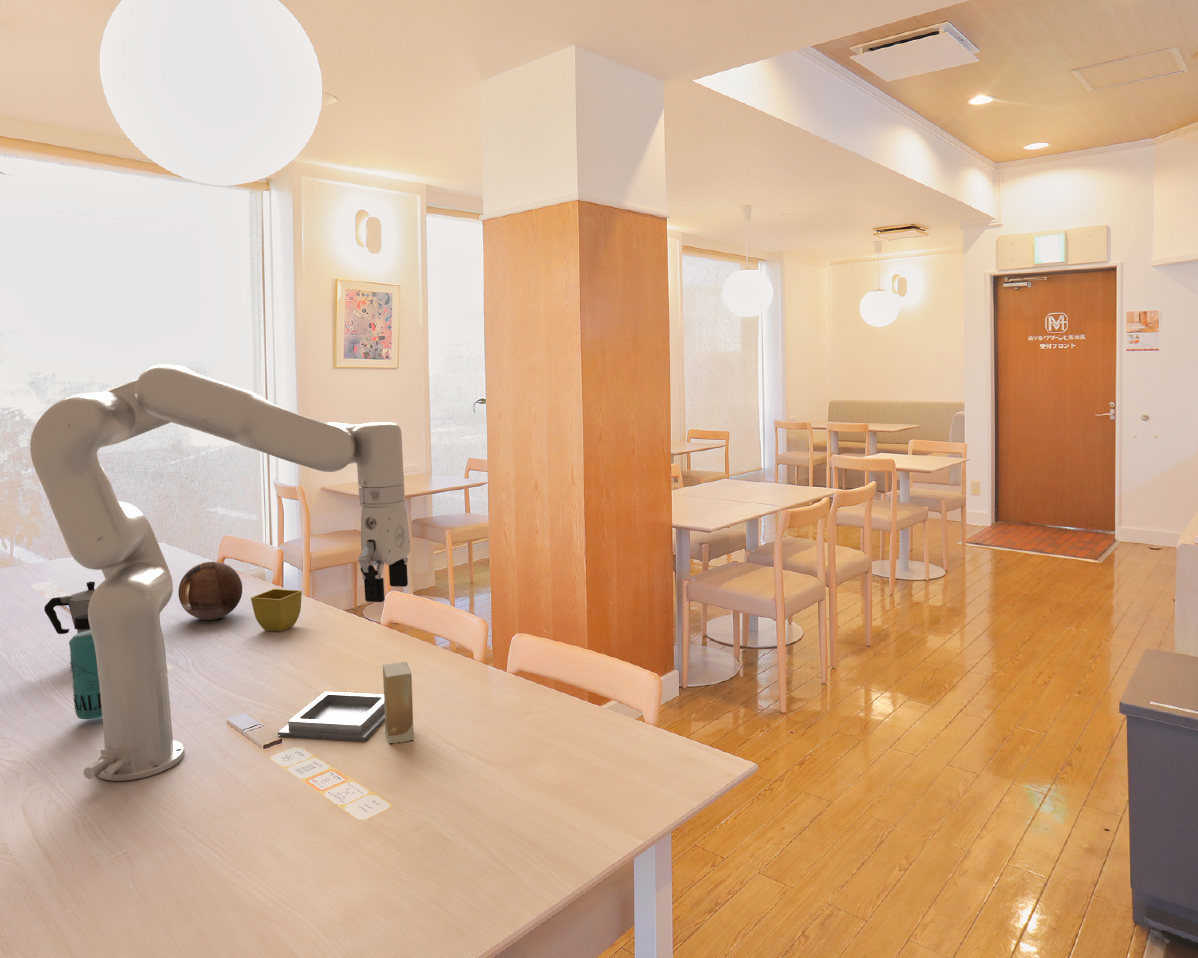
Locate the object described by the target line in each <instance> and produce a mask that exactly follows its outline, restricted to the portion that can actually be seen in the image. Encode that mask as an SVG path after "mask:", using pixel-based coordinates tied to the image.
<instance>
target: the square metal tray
mask: <svg viewBox="0 0 1198 958" xmlns="http://www.w3.org/2000/svg"><path fill="white" fill-rule="evenodd" d="M384 721H385V709H384V694H381V693H380V694H379V693H377V694H374V693H362V692H361V693H360V692H359V693H358V692H357V693H355V692H342V691H341V692H338V691H324V692H323V693H321V694H320V695H319V696H318V697H316V699H314V700H313V701H311V702H310V703H309V704H307V706H305V707H304V708H303V709H301V710H300V711H299V712H297V713H296V714H295V715H294V716H293V717H292V718H290V719H289V720H288V721H287V724H286V725H284V727H282V728H281V729H280V730H279V731H277V736H278V735H280V736H282V737H281V738H283V737H284V738H297V739H298V738H299V739H313V740H315V739H316V740H327V741H328V740H332V741H347V742H362V743H365V742H366V741H367V740H368V739H369V738H370V737H371V736H372V735H373V734H374V733H375V732H376V731H377V730H378V729H379V728H380V727H381V726H382V725H383V724H384V723H385V722H384ZM383 722H384V723H383ZM382 723H383V724H382ZM381 724H382V725H381ZM379 726H380V727H379ZM378 727H379V728H378ZM377 728H378V729H377ZM376 729H377V730H376ZM375 730H376V731H375ZM374 731H375V732H374ZM373 732H374V733H373ZM371 734H372V735H371Z"/></svg>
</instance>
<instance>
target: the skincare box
mask: <svg viewBox="0 0 1198 958" xmlns="http://www.w3.org/2000/svg"><path fill="white" fill-rule="evenodd" d="M412 677H413V676H412V672H411V669H410V666H409V664H408V661H402V662H393V663H388V664H383V665H382V679H383V682H382V683H383V695H384V709H385V722H384V730H385V735H386V736H385V737H386V739H387V742H389V743H388V745H391V744H390V743H394V744H398V743H397V742H400V743H405V741H406V742H411V741H410V740H413V741H414V740H415V736H414V709H413V708H414V707H413V684H412V683H413V679H412Z"/></svg>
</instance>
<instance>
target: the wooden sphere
mask: <svg viewBox="0 0 1198 958" xmlns="http://www.w3.org/2000/svg"><path fill="white" fill-rule="evenodd" d="M177 593H178V599H179V602H180V605H181V607H182V608H183V609H184V611H186V613H188V614H189V615H190V616H192V617H194V618H196V619H199V620H203V621H204V620H205V621H213V619H214V620H218V619H221V618H224V617H225V616H227V615H229V614H230V613H232V611H234V610H235V609H236V608H237V606H238V605H239V603H240V601H241V599H242V595H243V582H242V579H241V577H240V576H239V574H238V572H237V571H236V570H235V569H234V568H232V567H231V566H230V565H228V564H226V563H223V562H221V561H219V562H218V561H206V562H201V563H199V564H196V565H195V566H193V567H191V568H190V569H189V570H188V571H187V572H185V574H183V577H182V578H181V581H180V583H179V585H178V592H177Z"/></svg>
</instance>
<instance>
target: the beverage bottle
mask: <svg viewBox="0 0 1198 958" xmlns="http://www.w3.org/2000/svg"><path fill="white" fill-rule="evenodd" d="M73 626H74V629H75V630H85V629H90V625H89V620H88V614H82V615H79V616H76V617H75V625H74V624H73ZM68 644H69V651H70V652H69V653H70V654H69V657H70V661H69V666H70V673H71V680H72V682H71V684H72V685H71V686H72V692H73V704H74V710H75V715H76V717H77V718H78V719H81V720H94V719H99V718H102V709H101V698H100V687H99V678H98V669H97V659H96V652H95V646H94V641H93V637H92V633H91V630H89V631H84V632H80V633H76V634H75V635H73V637H72V638H71V639H70V640H69V642H68Z"/></svg>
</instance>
